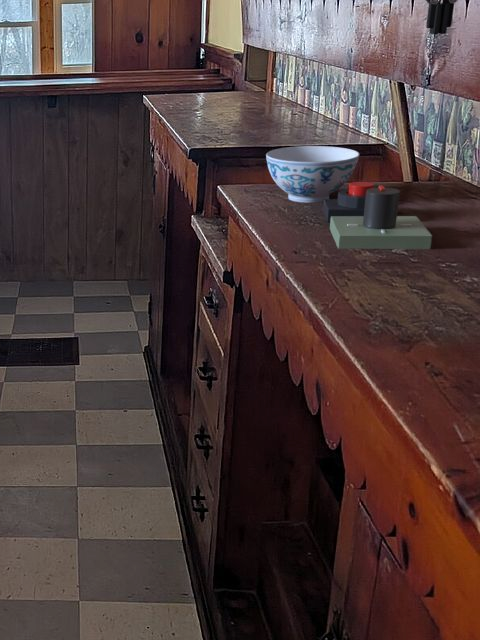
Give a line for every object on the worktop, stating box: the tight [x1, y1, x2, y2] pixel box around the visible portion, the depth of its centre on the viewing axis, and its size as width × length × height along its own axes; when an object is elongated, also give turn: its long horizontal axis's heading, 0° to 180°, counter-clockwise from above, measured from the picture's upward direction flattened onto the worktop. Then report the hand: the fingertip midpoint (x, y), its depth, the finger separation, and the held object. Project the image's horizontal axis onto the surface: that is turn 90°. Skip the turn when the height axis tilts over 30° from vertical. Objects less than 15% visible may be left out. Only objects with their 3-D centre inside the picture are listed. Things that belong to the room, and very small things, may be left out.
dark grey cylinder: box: [363, 184, 401, 229], centre depth 124 cm, size 4×4×5 cm
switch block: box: [322, 188, 366, 224], centre depth 136 cm, size 10×7×4 cm
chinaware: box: [265, 145, 360, 204], centre depth 149 cm, size 15×15×8 cm
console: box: [329, 215, 433, 250], centre depth 125 cm, size 12×11×2 cm
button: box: [348, 181, 375, 196], centre depth 135 cm, size 4×4×2 cm
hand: (437, 33), depth 124 cm, fingers closed
